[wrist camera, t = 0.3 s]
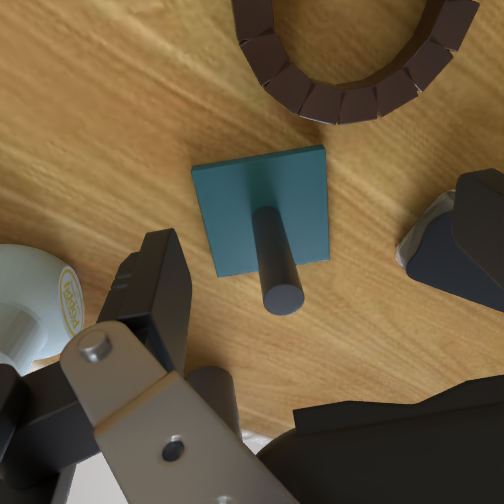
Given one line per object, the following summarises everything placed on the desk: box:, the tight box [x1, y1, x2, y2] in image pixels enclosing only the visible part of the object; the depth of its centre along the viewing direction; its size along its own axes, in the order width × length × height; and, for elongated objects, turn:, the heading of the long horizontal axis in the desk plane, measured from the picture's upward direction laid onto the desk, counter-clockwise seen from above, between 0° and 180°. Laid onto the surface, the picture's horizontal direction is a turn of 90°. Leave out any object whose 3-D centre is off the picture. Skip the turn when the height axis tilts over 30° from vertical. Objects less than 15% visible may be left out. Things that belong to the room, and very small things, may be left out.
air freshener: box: [0, 244, 84, 377], centre depth 28 cm, size 11×8×10 cm
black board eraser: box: [395, 189, 504, 312], centre depth 32 cm, size 16×8×4 cm, turn 66°
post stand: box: [191, 145, 330, 316], centre depth 26 cm, size 10×10×11 cm
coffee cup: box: [186, 367, 243, 442], centre depth 37 cm, size 8×8×10 cm
